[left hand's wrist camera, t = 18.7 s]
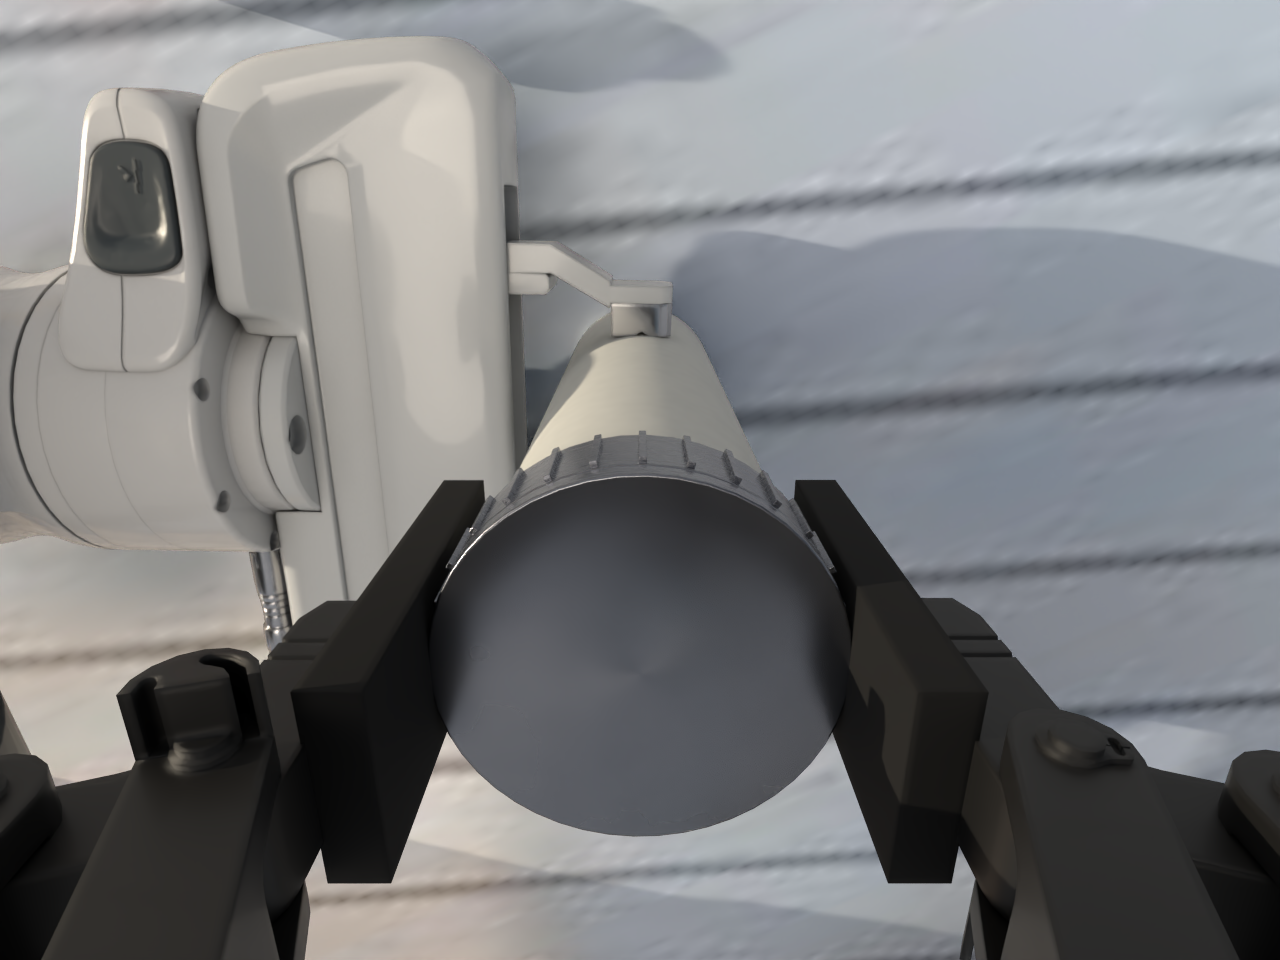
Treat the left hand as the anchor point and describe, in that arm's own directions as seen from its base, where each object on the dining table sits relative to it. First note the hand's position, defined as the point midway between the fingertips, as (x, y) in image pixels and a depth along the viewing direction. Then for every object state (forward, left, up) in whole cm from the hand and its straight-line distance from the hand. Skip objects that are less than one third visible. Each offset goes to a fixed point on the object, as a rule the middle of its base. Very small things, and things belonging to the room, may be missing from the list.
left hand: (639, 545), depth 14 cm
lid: (0, 0, +4) cm, 4 cm away
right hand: (0, -1, -9) cm, 9 cm away
